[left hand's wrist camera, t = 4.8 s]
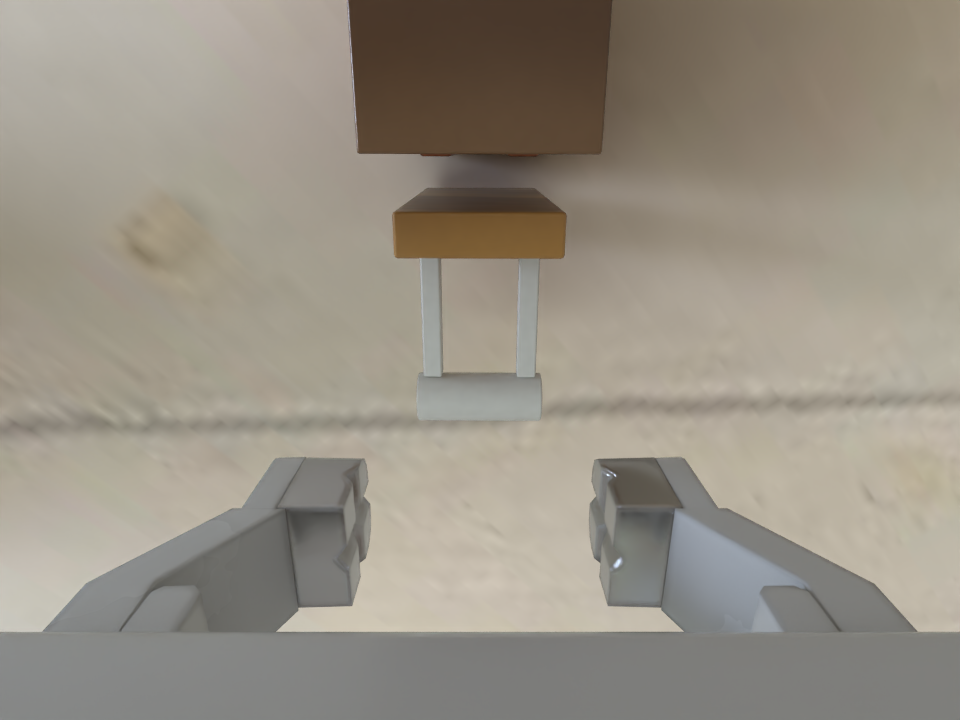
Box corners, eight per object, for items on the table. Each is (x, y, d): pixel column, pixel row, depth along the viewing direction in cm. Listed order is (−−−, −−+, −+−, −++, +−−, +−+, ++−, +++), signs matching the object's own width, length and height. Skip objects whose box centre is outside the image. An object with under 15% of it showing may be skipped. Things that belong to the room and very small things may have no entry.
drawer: (530, 350, 26) (554, 454, 17) (430, 349, 26) (403, 454, 17) (552, -304, 18) (616, -720, 10) (411, -304, 19) (346, -717, 10)
